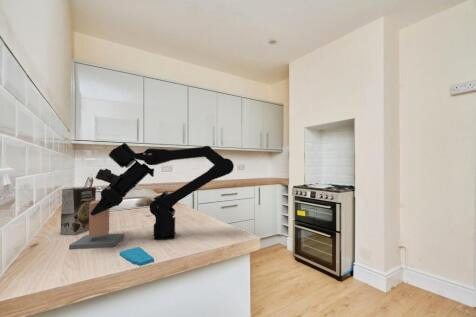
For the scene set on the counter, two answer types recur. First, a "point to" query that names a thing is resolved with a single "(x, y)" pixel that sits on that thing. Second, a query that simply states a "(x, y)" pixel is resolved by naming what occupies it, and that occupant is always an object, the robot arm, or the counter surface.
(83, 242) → the slate board
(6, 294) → the counter surface
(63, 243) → the counter surface
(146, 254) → the sponge
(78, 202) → the coffee box
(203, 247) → the counter surface
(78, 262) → the counter surface
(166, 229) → the robot arm
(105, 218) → the terracotta block
